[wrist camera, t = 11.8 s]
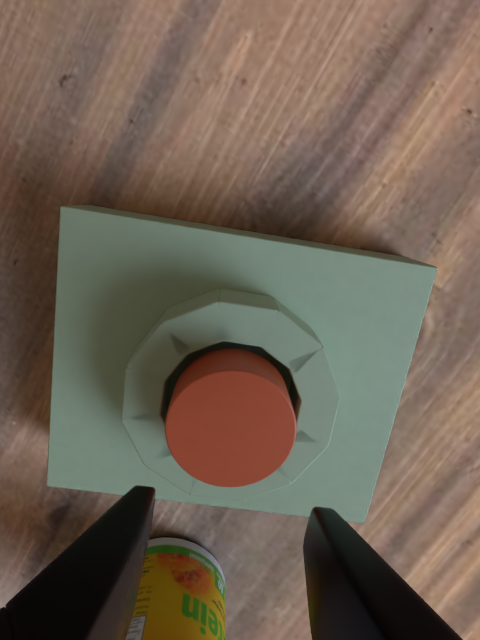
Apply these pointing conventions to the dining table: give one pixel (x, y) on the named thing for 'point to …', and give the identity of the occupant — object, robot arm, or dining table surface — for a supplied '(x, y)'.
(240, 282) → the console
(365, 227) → the dining table surface
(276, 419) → the button
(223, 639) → the supplement bottle
